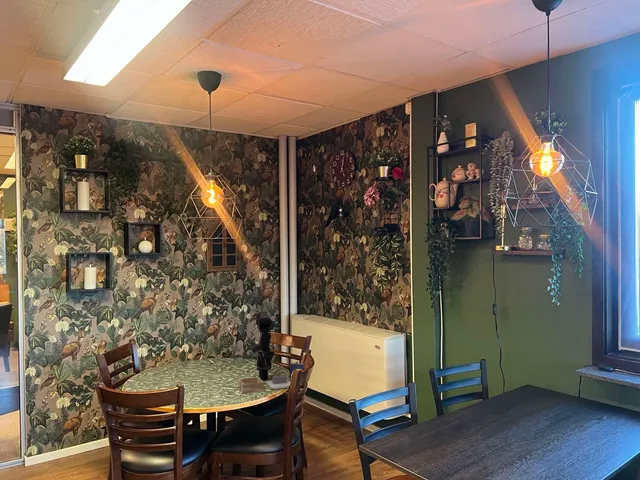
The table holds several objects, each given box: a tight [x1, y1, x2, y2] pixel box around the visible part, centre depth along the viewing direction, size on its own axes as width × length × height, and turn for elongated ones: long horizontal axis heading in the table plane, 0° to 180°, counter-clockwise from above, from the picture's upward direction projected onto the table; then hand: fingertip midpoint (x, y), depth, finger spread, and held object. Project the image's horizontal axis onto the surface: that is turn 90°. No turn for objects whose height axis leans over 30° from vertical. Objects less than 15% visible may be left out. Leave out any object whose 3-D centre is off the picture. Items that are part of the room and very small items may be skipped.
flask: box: [289, 360, 305, 379], centre depth 294 cm, size 9×3×11 cm, turn 88°
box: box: [237, 376, 265, 395], centre depth 271 cm, size 12×12×5 cm
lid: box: [265, 374, 291, 390], centre depth 278 cm, size 13×13×6 cm
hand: (264, 365), depth 277 cm, fingers open, 9 cm apart
